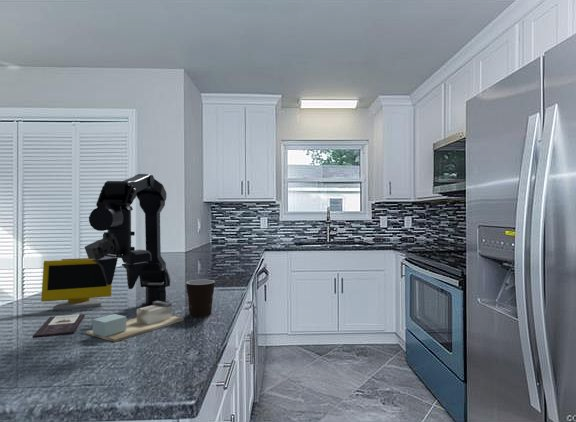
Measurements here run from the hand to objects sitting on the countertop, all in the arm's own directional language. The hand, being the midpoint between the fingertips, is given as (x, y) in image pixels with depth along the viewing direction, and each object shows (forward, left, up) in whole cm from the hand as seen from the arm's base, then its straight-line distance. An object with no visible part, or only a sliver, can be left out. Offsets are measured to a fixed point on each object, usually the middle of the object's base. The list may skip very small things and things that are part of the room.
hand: (119, 286), depth 101 cm
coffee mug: (+7, +24, -12) cm, 28 cm away
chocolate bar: (-17, -6, -12) cm, 22 cm away
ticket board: (+2, +4, -12) cm, 12 cm away
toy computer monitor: (-35, +9, -12) cm, 38 cm away
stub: (+2, -4, -12) cm, 12 cm away
